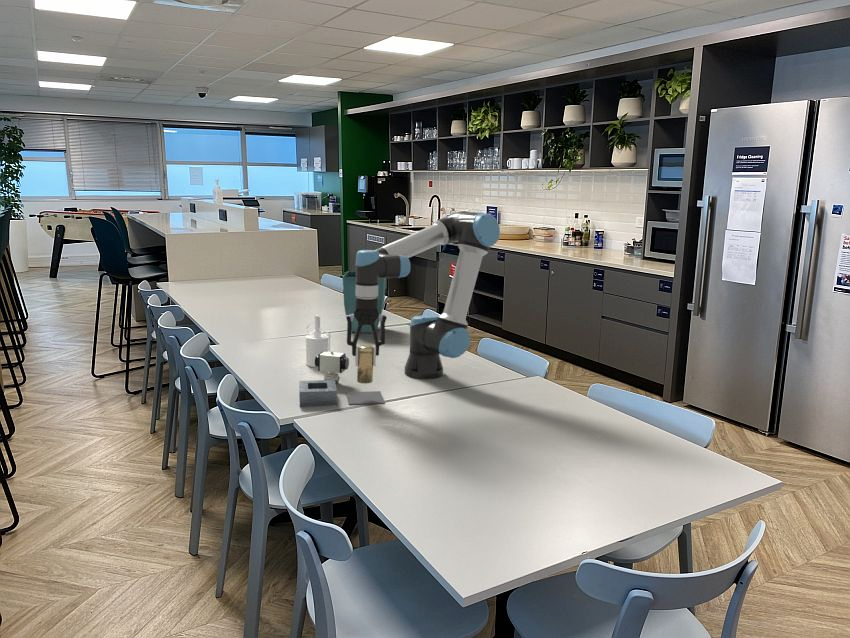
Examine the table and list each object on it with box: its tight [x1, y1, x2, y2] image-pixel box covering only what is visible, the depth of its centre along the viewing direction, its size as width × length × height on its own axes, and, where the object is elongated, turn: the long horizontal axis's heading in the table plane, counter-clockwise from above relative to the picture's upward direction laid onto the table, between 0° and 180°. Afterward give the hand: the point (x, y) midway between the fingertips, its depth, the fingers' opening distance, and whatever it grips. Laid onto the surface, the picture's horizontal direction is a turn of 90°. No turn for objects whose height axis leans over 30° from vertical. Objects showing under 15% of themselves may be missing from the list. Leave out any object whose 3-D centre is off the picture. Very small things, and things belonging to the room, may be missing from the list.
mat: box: [345, 390, 386, 406], centre depth 216 cm, size 12×12×1 cm
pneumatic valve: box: [315, 350, 350, 384], centre depth 231 cm, size 6×12×12 cm, turn 78°
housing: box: [298, 379, 338, 408], centre depth 212 cm, size 12×12×5 cm
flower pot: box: [342, 270, 387, 334], centre depth 314 cm, size 20×20×28 cm
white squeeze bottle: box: [304, 315, 331, 368], centre depth 253 cm, size 10×9×20 cm
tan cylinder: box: [356, 344, 374, 384], centre depth 213 cm, size 5×5×12 cm
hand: (365, 364), depth 214 cm, fingers closed on tan cylinder, 5 cm apart
